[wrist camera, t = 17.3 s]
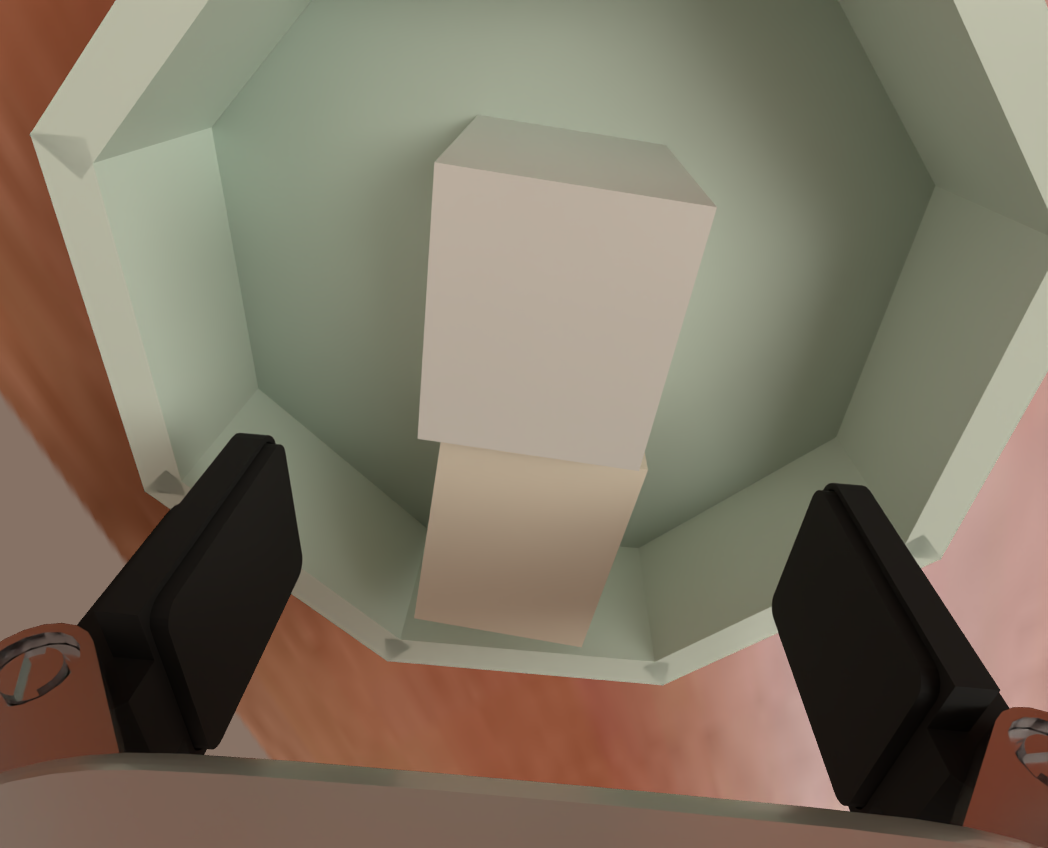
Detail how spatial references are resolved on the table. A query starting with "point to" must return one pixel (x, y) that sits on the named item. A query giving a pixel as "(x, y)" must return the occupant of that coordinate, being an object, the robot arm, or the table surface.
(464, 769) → the table surface
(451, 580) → the beige upright box
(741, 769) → the table surface
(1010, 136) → the celadon bowl
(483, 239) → the light grey block
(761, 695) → the table surface
